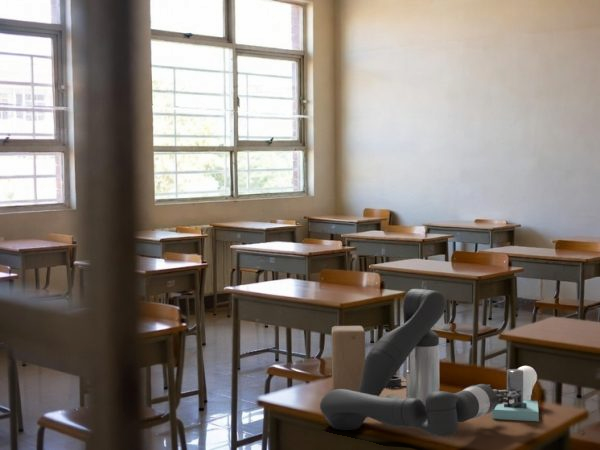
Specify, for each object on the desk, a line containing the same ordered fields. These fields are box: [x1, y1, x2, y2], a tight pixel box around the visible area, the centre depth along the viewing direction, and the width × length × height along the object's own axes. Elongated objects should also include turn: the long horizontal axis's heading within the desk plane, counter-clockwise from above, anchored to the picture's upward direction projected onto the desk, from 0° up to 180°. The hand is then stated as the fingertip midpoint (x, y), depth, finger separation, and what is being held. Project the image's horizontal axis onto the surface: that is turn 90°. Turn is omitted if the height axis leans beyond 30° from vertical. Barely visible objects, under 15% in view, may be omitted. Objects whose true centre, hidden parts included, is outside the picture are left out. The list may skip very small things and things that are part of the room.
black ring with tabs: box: [385, 375, 406, 389], centre depth 254 cm, size 8×10×3 cm
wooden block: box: [331, 325, 366, 392], centre depth 247 cm, size 10×10×20 cm
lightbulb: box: [517, 365, 538, 401], centre depth 230 cm, size 6×6×11 cm
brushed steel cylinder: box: [506, 368, 523, 408], centre depth 219 cm, size 4×4×12 cm
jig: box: [491, 399, 540, 422], centre depth 219 cm, size 12×12×2 cm
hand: (504, 391), depth 213 cm, fingers open, 8 cm apart
